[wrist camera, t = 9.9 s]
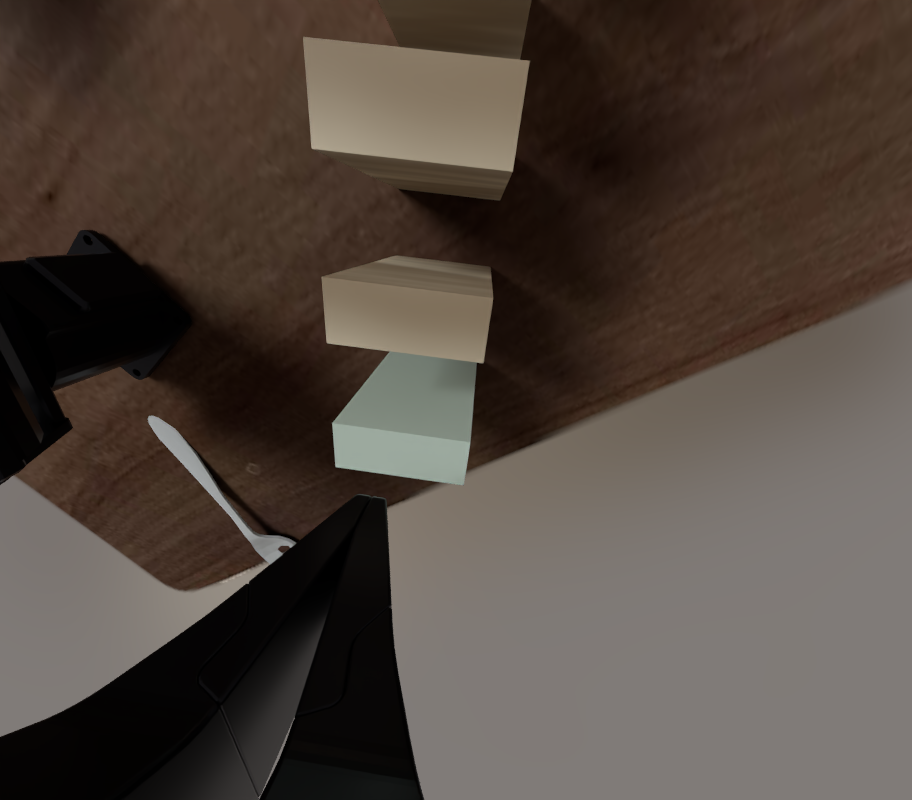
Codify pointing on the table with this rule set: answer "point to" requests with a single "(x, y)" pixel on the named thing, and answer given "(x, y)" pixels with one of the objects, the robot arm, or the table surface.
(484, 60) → the domino
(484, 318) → the domino
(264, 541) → the spoon
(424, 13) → the domino
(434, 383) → the domino
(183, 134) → the table surface
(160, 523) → the table surface
